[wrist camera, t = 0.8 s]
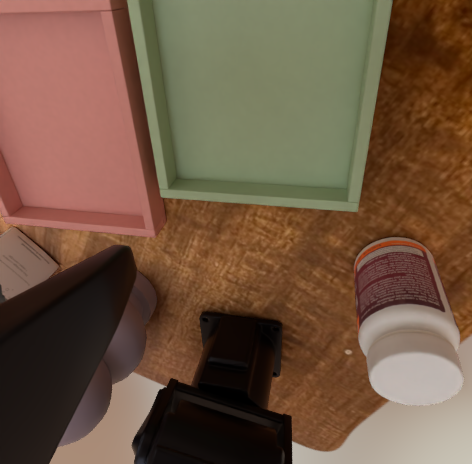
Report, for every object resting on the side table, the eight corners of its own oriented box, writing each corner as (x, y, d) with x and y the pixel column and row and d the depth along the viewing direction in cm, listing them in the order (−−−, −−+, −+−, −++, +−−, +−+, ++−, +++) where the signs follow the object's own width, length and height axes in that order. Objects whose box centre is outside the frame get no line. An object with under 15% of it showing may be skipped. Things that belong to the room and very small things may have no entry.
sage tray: (355, 194, 22) (357, 212, 20) (172, 182, 24) (160, 198, 22) (404, -112, 14) (413, -122, 13) (131, -89, 17) (109, -96, 15)
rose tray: (167, 221, 26) (155, 238, 24) (23, 208, 28) (5, 223, 26) (128, -8, 18) (108, -5, 17) (-63, -1, 21) (-97, 2, 19)
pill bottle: (337, 262, 25) (338, 373, 18) (399, 220, 22) (427, 331, 16) (386, 303, 26) (404, 422, 19) (451, 268, 23) (498, 391, 17)
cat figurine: (151, 340, 34) (79, 488, 24) (69, 302, 33) (-38, 439, 24) (180, 279, 29) (103, 437, 19) (84, 234, 28) (-45, 373, 19)
